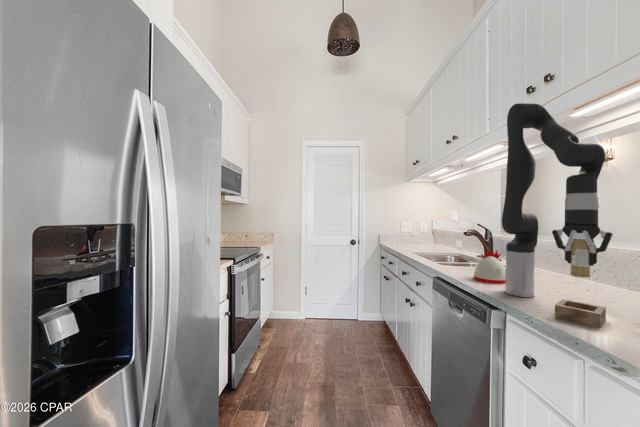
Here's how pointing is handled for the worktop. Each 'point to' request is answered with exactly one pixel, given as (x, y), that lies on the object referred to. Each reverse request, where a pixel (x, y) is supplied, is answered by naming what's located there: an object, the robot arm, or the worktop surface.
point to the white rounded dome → (490, 269)
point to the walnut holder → (580, 313)
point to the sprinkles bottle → (580, 256)
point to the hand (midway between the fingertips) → (580, 263)
